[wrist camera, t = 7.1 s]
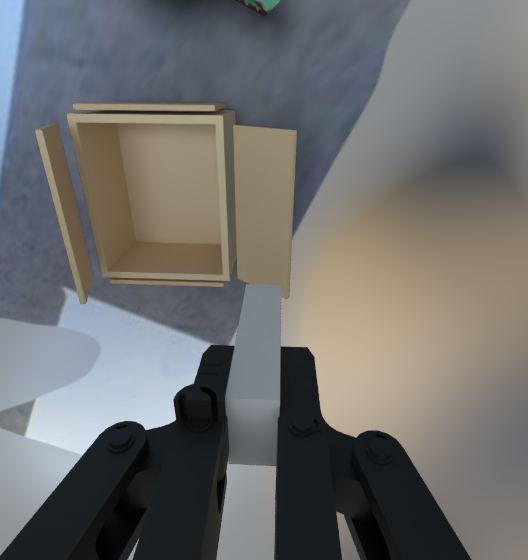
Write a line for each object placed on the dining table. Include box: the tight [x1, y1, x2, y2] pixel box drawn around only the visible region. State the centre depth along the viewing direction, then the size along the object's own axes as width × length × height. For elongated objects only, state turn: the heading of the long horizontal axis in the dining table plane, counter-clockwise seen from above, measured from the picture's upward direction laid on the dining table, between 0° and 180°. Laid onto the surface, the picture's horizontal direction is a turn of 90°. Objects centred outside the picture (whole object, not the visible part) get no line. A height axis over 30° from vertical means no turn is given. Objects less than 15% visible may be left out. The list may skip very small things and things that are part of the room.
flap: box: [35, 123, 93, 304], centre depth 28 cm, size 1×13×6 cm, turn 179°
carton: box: [67, 102, 237, 287], centre depth 34 cm, size 12×15×8 cm
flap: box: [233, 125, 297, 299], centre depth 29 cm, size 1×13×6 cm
